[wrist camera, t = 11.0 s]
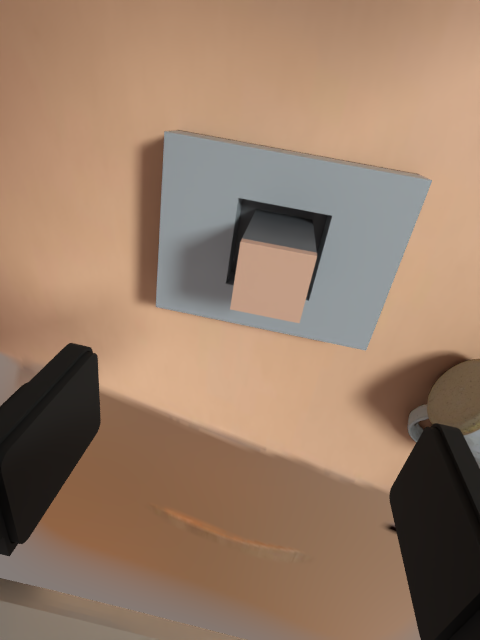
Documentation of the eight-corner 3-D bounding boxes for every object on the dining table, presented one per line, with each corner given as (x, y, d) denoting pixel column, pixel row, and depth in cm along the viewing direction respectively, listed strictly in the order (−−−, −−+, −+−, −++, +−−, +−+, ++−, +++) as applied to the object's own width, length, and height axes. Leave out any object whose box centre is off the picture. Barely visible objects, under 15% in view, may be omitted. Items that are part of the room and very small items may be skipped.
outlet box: (417, 173, 24) (432, 180, 22) (360, 330, 30) (366, 350, 27) (178, 130, 25) (164, 131, 22) (167, 290, 31) (155, 306, 28)
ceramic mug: (481, 335, 29) (531, 399, 22) (548, 390, 30) (614, 464, 24) (382, 408, 34) (399, 478, 27) (443, 452, 35) (474, 528, 29)
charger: (312, 219, 26) (317, 256, 19) (299, 272, 28) (299, 323, 21) (256, 209, 26) (240, 241, 19) (247, 262, 28) (229, 309, 21)
